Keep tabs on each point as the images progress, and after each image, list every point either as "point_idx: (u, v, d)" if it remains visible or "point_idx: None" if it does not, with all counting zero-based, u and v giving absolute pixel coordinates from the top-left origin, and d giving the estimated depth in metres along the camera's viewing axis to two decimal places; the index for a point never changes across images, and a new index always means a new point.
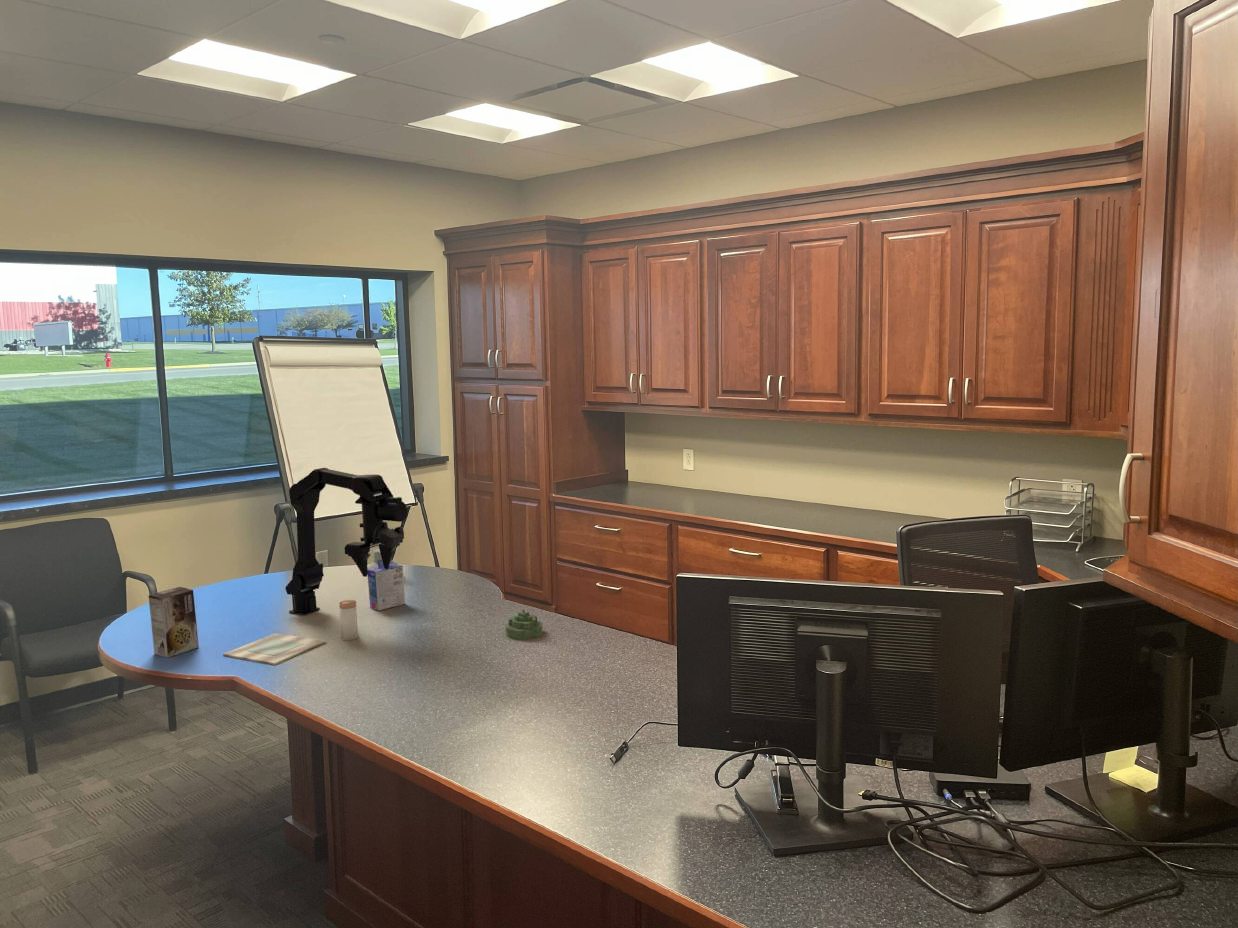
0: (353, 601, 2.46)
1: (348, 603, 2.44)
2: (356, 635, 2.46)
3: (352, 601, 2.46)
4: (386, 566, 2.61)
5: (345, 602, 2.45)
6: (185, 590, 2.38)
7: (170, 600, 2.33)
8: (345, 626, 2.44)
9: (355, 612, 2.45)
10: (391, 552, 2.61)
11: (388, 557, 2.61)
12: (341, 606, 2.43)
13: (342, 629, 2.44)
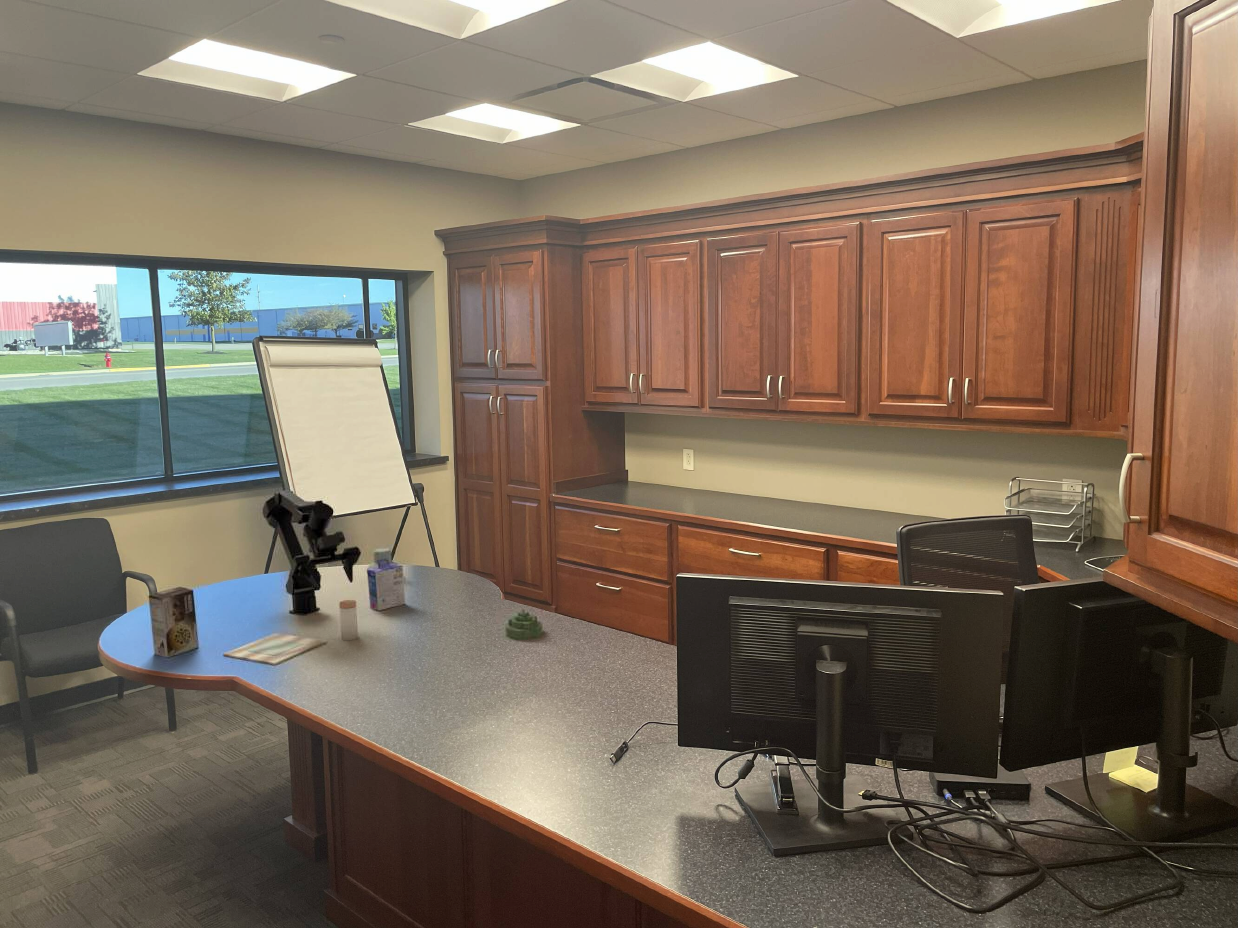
0: (353, 601, 2.46)
1: (348, 603, 2.44)
2: (356, 635, 2.46)
3: (352, 601, 2.46)
4: (350, 579, 2.53)
5: (345, 602, 2.45)
6: (185, 590, 2.38)
7: (170, 600, 2.33)
8: (345, 626, 2.44)
9: (355, 612, 2.45)
10: (350, 564, 2.55)
11: (348, 569, 2.54)
12: (341, 606, 2.43)
13: (342, 629, 2.44)
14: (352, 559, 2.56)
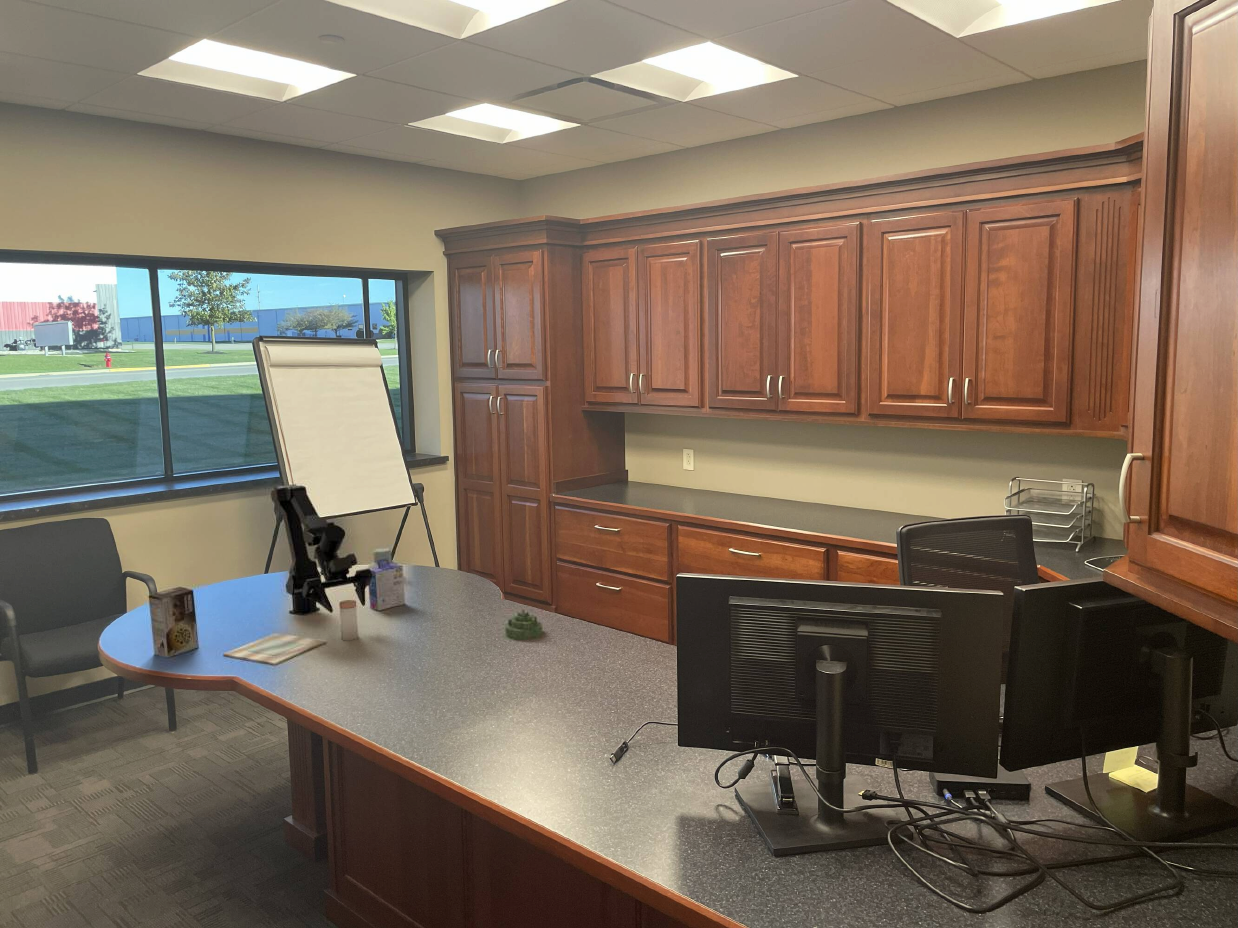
0: (353, 601, 2.46)
1: (348, 603, 2.44)
2: (356, 635, 2.46)
3: (352, 601, 2.46)
4: (362, 602, 2.48)
5: (345, 602, 2.45)
6: (185, 590, 2.38)
7: (170, 600, 2.33)
8: (345, 626, 2.44)
9: (355, 612, 2.45)
10: (362, 587, 2.50)
11: (361, 592, 2.49)
12: (341, 606, 2.43)
13: (342, 629, 2.44)
14: (364, 582, 2.51)
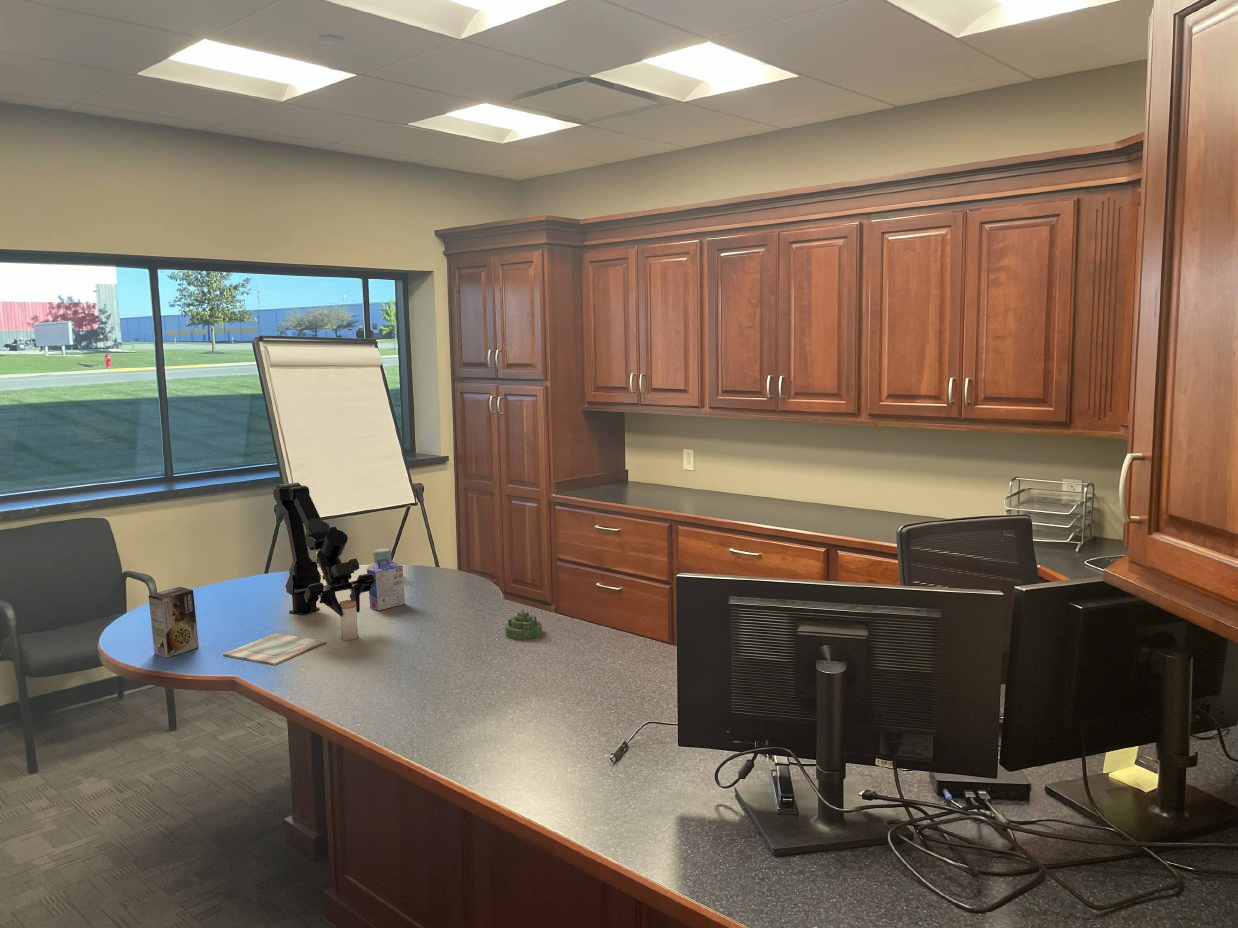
0: (353, 601, 2.46)
1: (348, 603, 2.44)
2: (356, 635, 2.46)
3: (352, 601, 2.46)
4: (357, 609, 2.46)
5: (345, 602, 2.45)
6: (185, 590, 2.38)
7: (170, 600, 2.33)
8: (345, 626, 2.44)
9: (355, 612, 2.45)
10: (357, 593, 2.48)
11: (355, 599, 2.47)
12: (341, 606, 2.43)
13: (342, 629, 2.44)
14: (359, 588, 2.48)
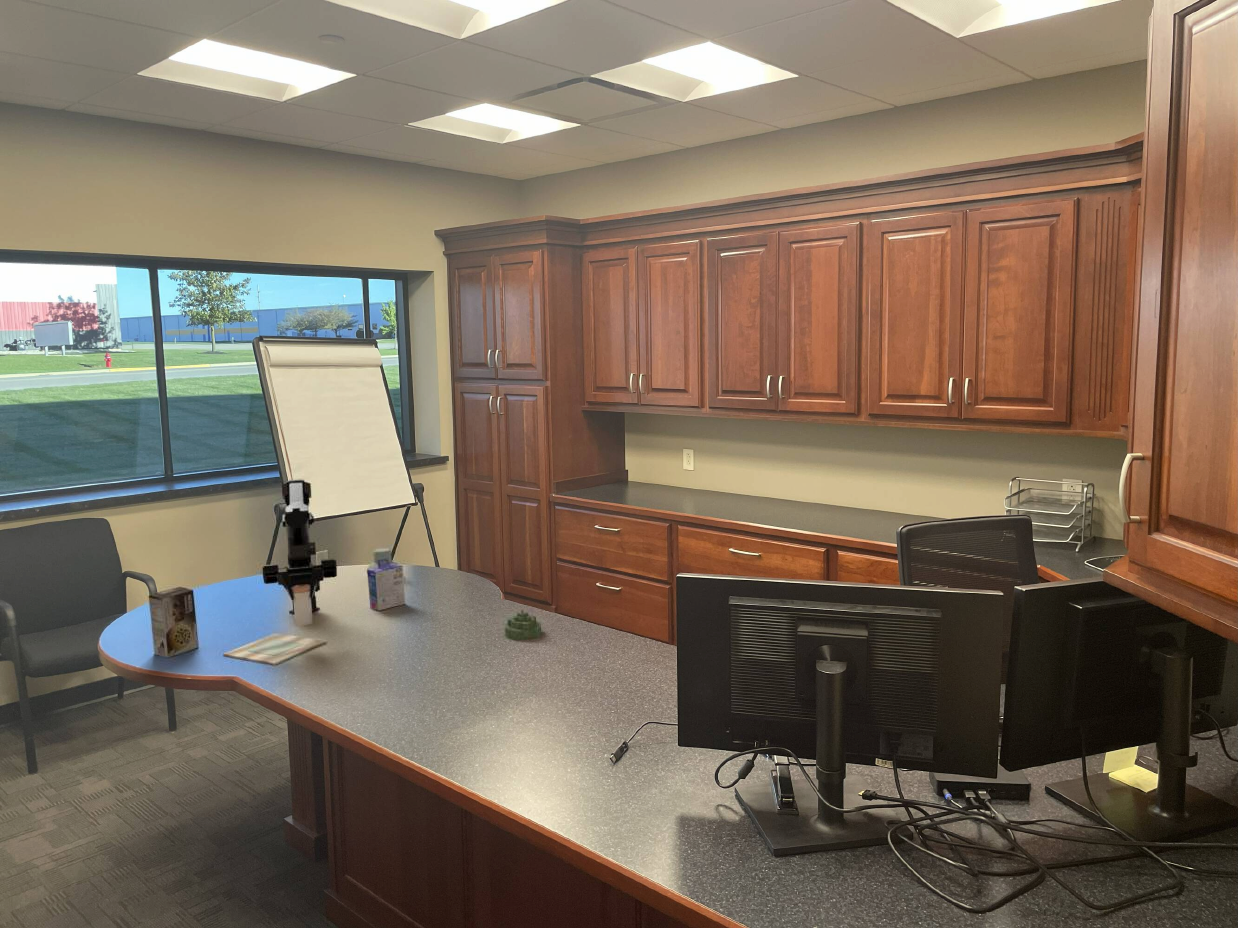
0: (307, 586, 2.38)
1: (300, 587, 2.37)
2: (308, 621, 2.38)
3: (306, 586, 2.38)
4: (310, 594, 2.38)
5: (299, 586, 2.38)
6: (185, 590, 2.38)
7: (170, 600, 2.33)
8: (296, 610, 2.37)
9: (307, 597, 2.37)
10: (313, 578, 2.40)
11: (310, 584, 2.39)
12: (293, 590, 2.37)
13: (294, 613, 2.38)
14: (316, 573, 2.40)
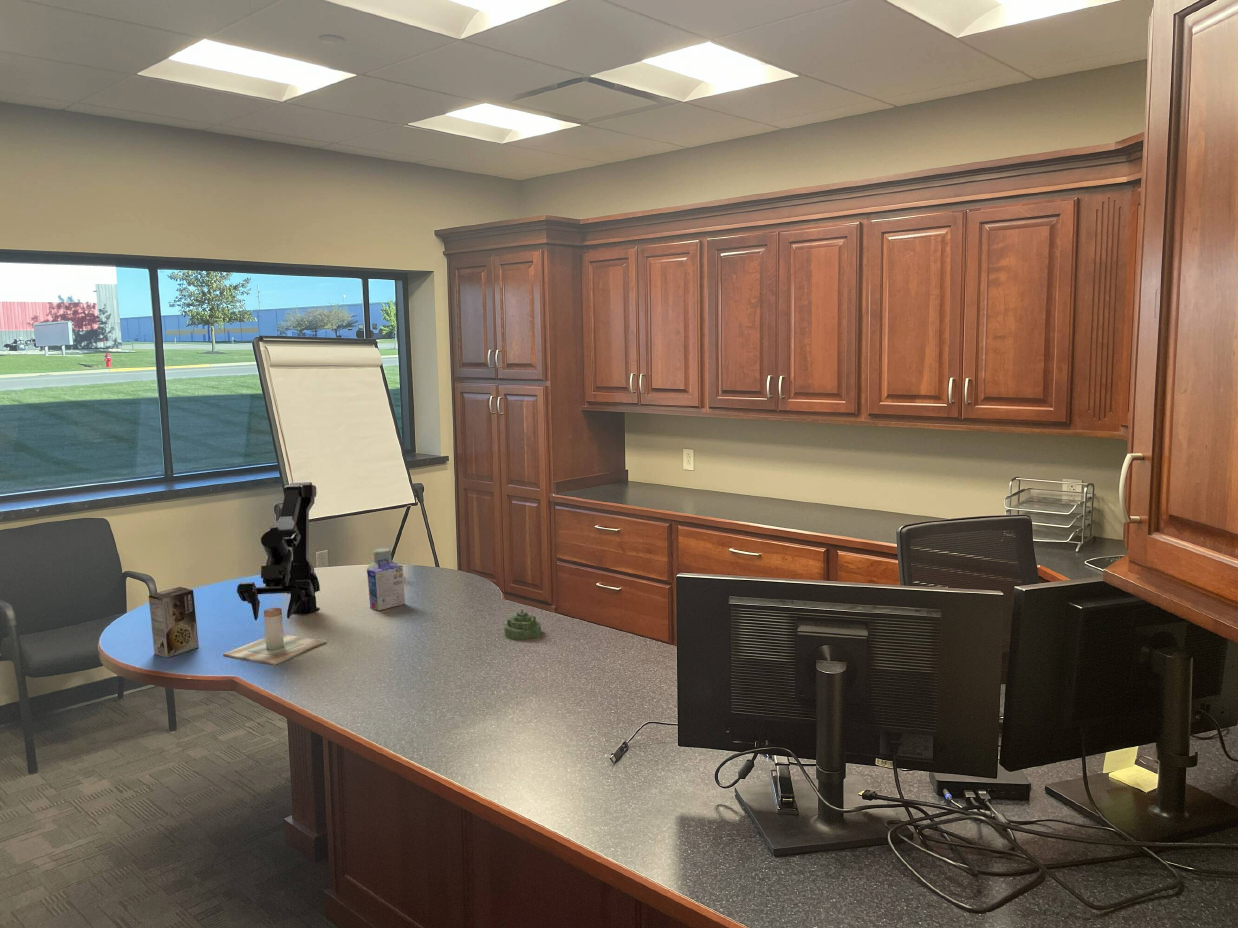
0: (278, 610, 2.37)
1: (270, 611, 2.36)
2: (277, 645, 2.36)
3: (277, 610, 2.37)
4: None
5: (270, 610, 2.37)
6: (185, 590, 2.38)
7: (170, 600, 2.33)
8: (266, 634, 2.36)
9: (276, 622, 2.36)
10: (292, 598, 2.38)
11: (289, 604, 2.37)
12: (264, 613, 2.36)
13: (265, 637, 2.37)
14: (295, 593, 2.38)
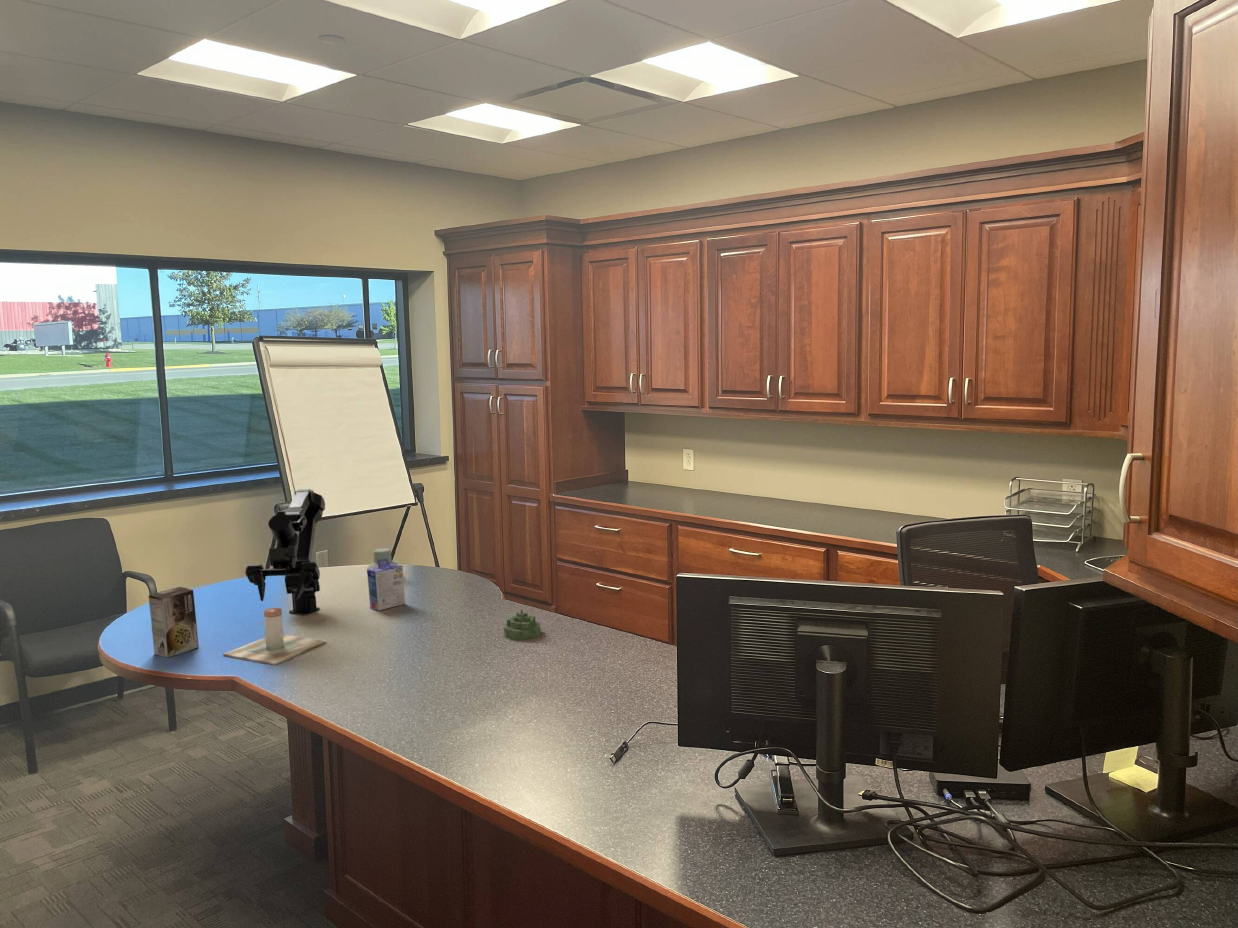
0: (278, 610, 2.36)
1: (270, 611, 2.35)
2: (277, 646, 2.36)
3: (277, 610, 2.37)
4: None
5: (270, 610, 2.37)
6: (185, 590, 2.38)
7: (170, 600, 2.33)
8: (266, 634, 2.36)
9: (276, 622, 2.35)
10: (301, 580, 2.46)
11: (297, 585, 2.46)
12: (264, 613, 2.36)
13: None
14: (304, 575, 2.46)
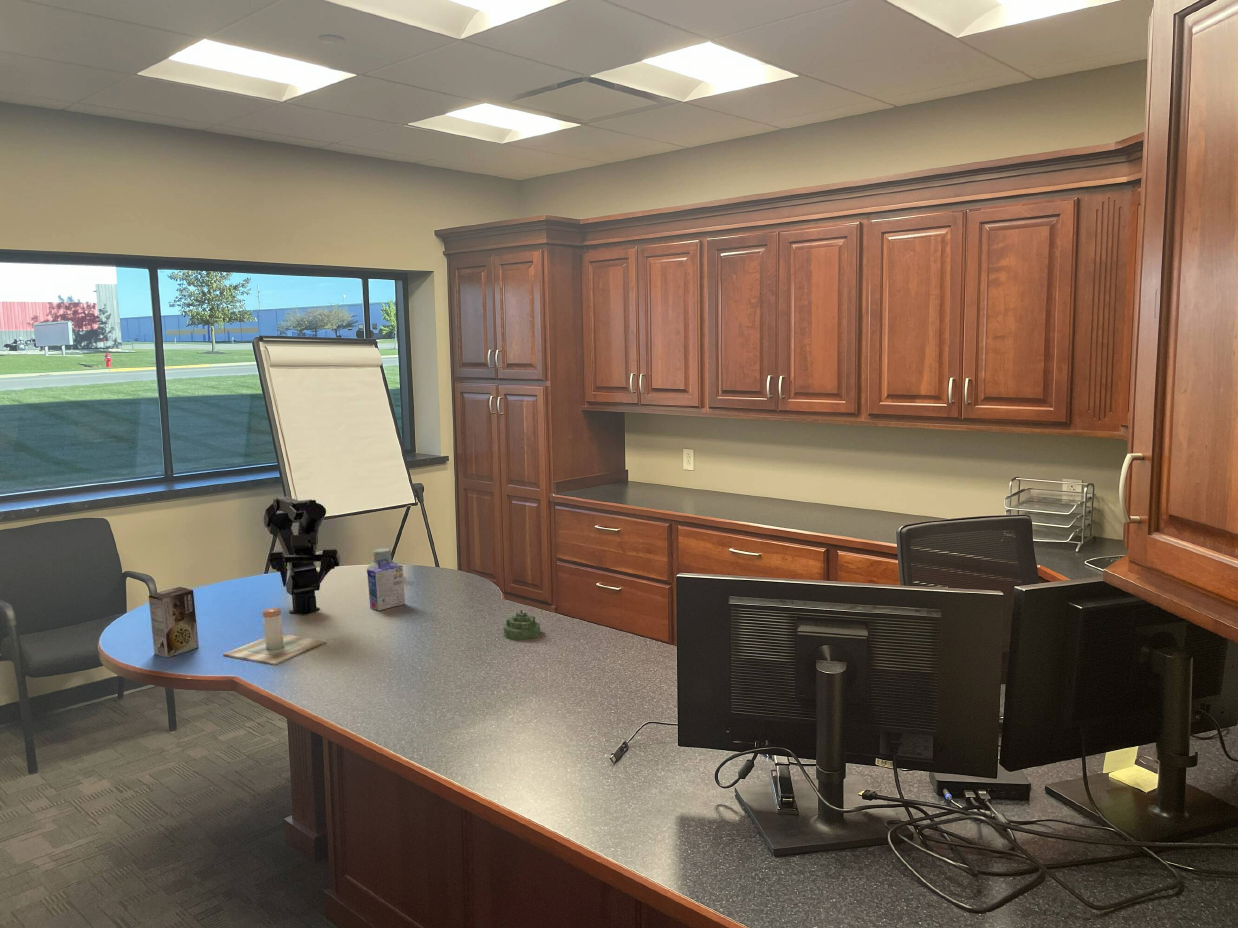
0: (276, 610, 2.36)
1: (268, 611, 2.35)
2: (277, 646, 2.36)
3: (276, 610, 2.37)
4: None
5: (269, 610, 2.37)
6: (185, 590, 2.38)
7: (170, 600, 2.33)
8: (265, 634, 2.36)
9: (275, 622, 2.35)
10: (322, 566, 2.52)
11: (319, 571, 2.52)
12: None
13: (265, 637, 2.37)
14: (325, 561, 2.53)
